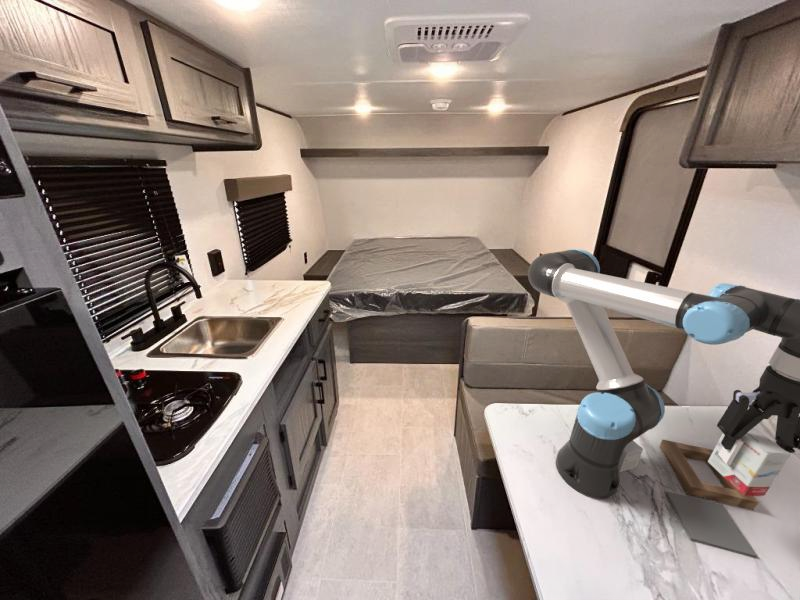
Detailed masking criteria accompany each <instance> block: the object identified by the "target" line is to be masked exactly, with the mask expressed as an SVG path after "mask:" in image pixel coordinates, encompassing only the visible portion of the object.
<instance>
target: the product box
mask: <svg viewBox="0 0 800 600" xmlns="http://www.w3.org/2000/svg"><path fill="white" fill-rule="evenodd" d="M643 451H644V448H643V447H641V446H640V445H639V444H638V443H637V442H636V441H635V440H633V441H631V442H630V443H628V444H627V445H626V447H625V448H624V451H623V453H622V456H621V458H620V461H619V463H618V466H619V473H622V472H625V471H630V470H634V469H636V468H637V466H638V463H639V460H640V458H641V456H642V453H643Z"/></svg>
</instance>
